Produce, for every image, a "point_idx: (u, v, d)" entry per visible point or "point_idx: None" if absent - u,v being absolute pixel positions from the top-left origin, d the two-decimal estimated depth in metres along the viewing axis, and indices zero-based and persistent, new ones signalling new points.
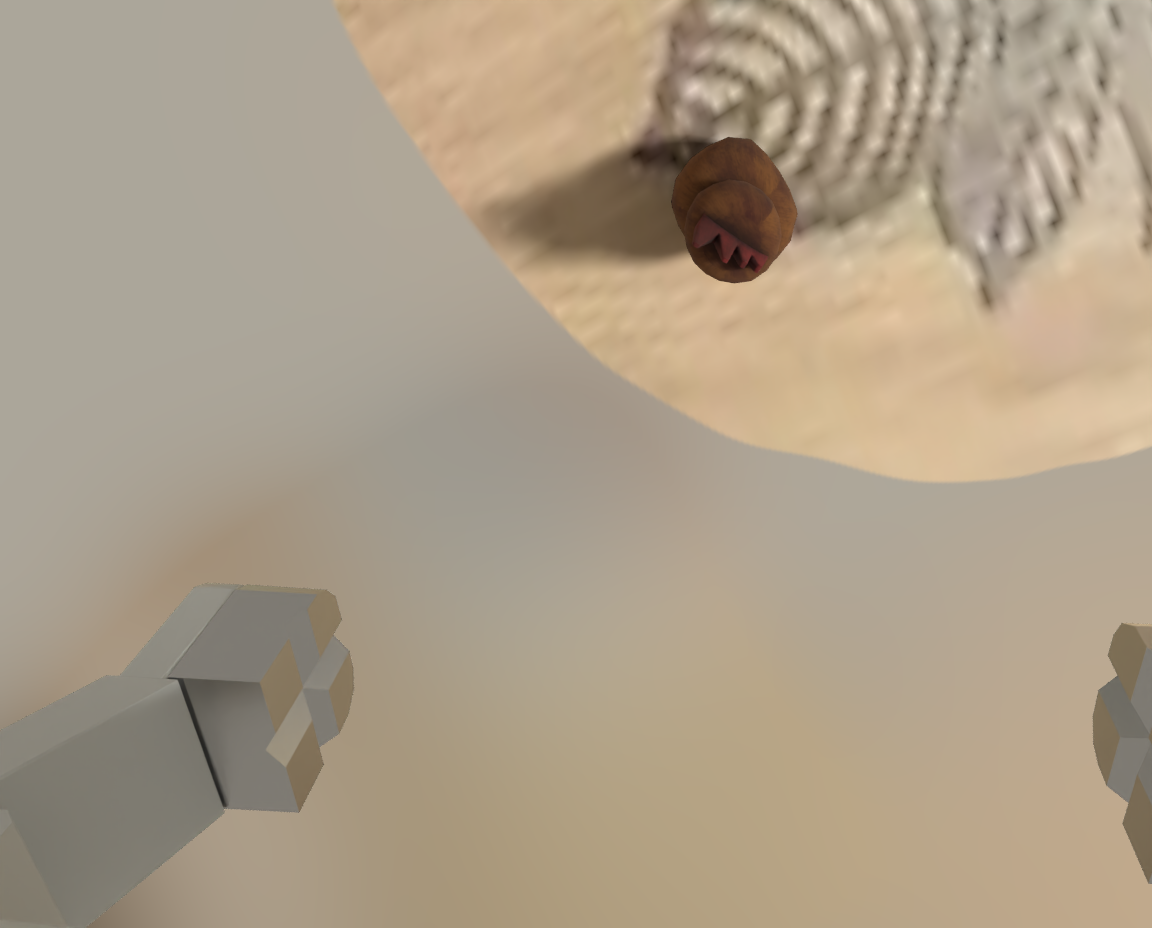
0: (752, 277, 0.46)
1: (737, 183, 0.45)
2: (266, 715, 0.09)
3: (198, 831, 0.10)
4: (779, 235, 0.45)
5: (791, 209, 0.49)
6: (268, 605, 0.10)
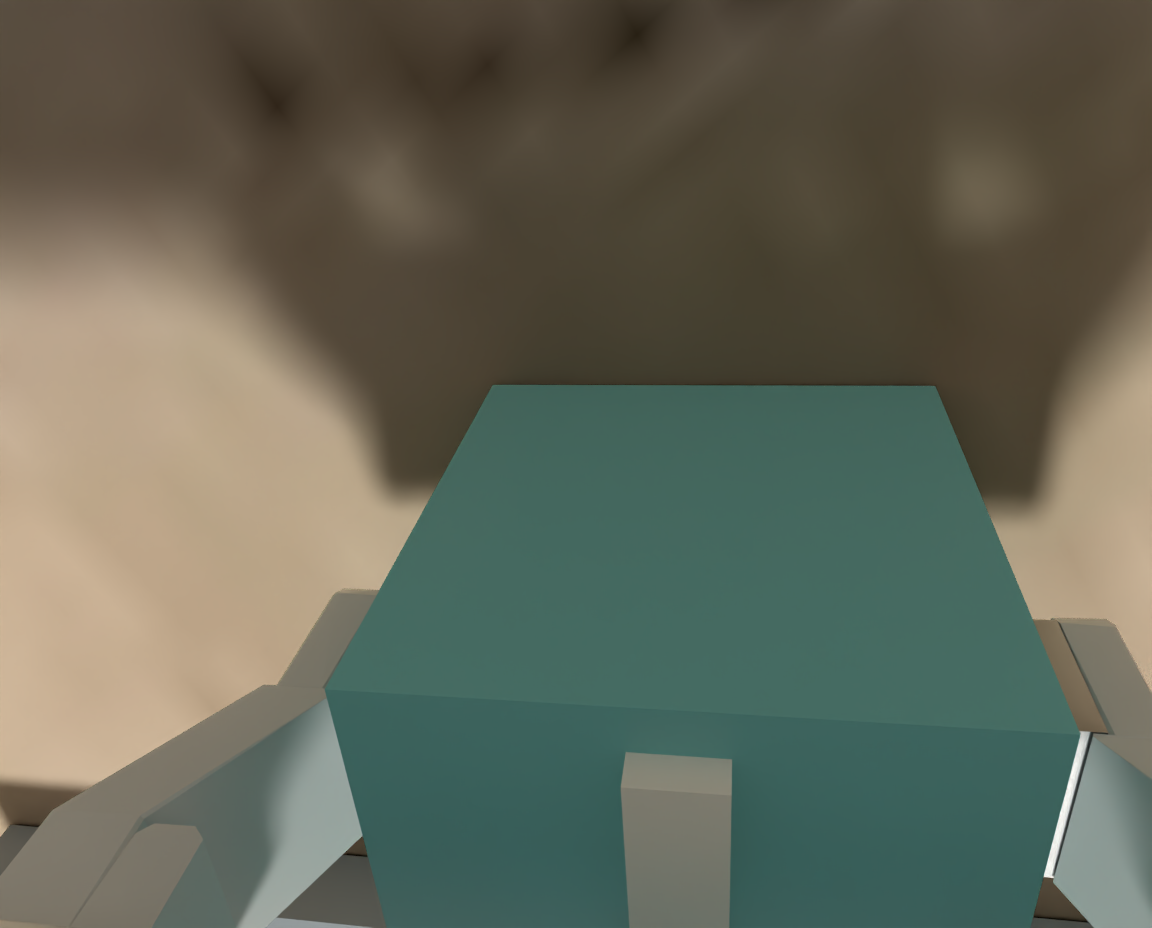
0: None
1: None
2: None
3: (349, 844, 0.09)
4: None
5: None
6: None
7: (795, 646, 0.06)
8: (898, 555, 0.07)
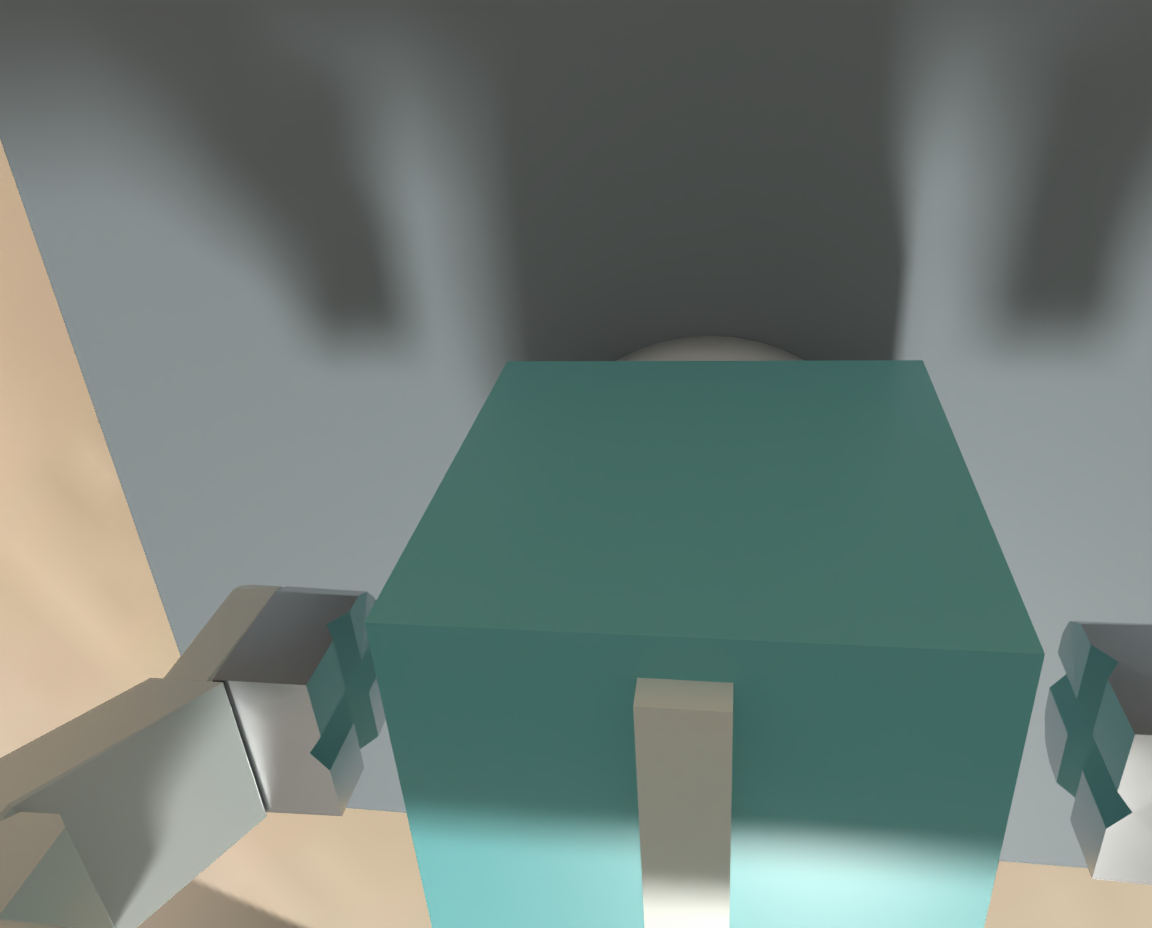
0: None
1: None
2: (311, 718, 0.09)
3: (240, 835, 0.10)
4: None
5: None
6: (309, 607, 0.10)
7: (790, 584, 0.07)
8: (885, 507, 0.08)
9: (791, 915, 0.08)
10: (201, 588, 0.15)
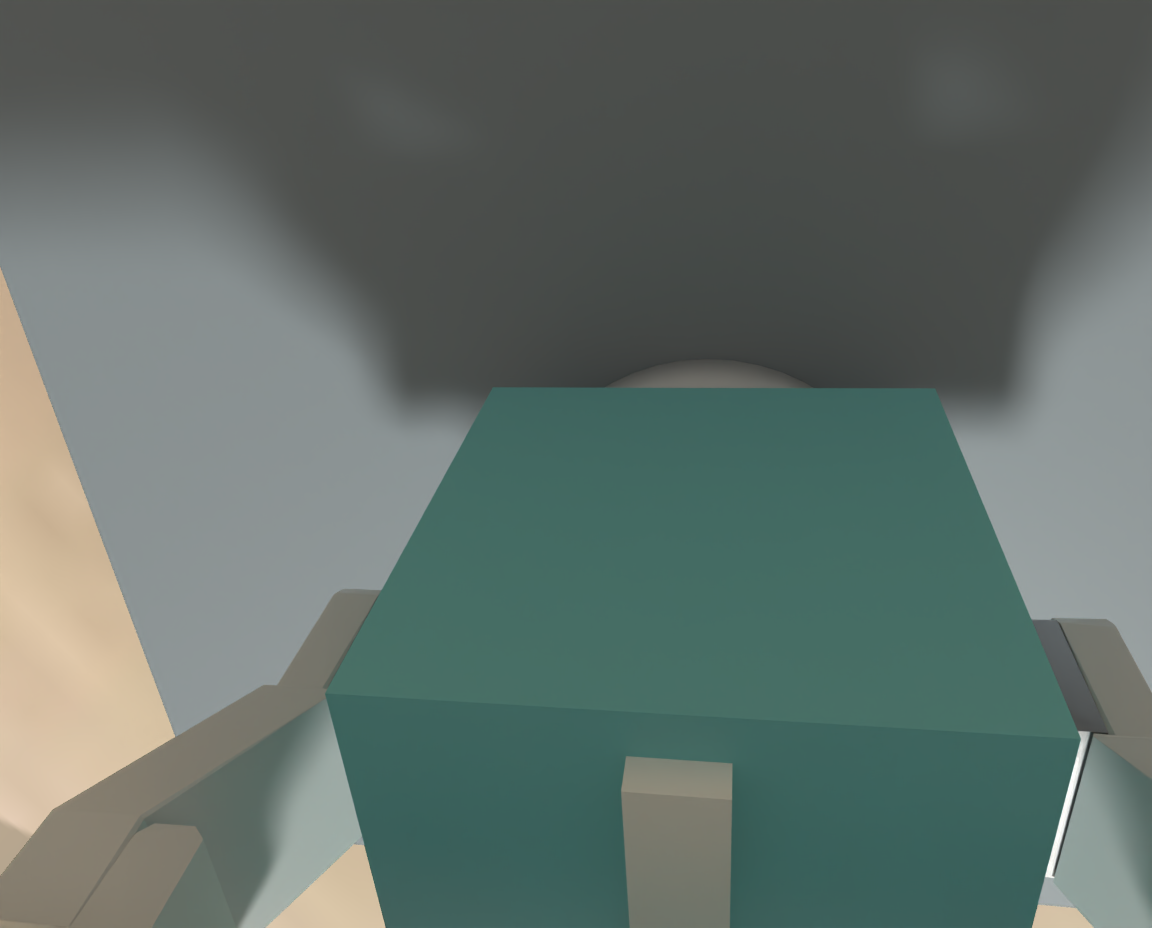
0: None
1: None
2: None
3: (349, 844, 0.09)
4: None
5: None
6: None
7: (795, 650, 0.06)
8: (898, 559, 0.07)
9: None
10: (176, 617, 0.15)
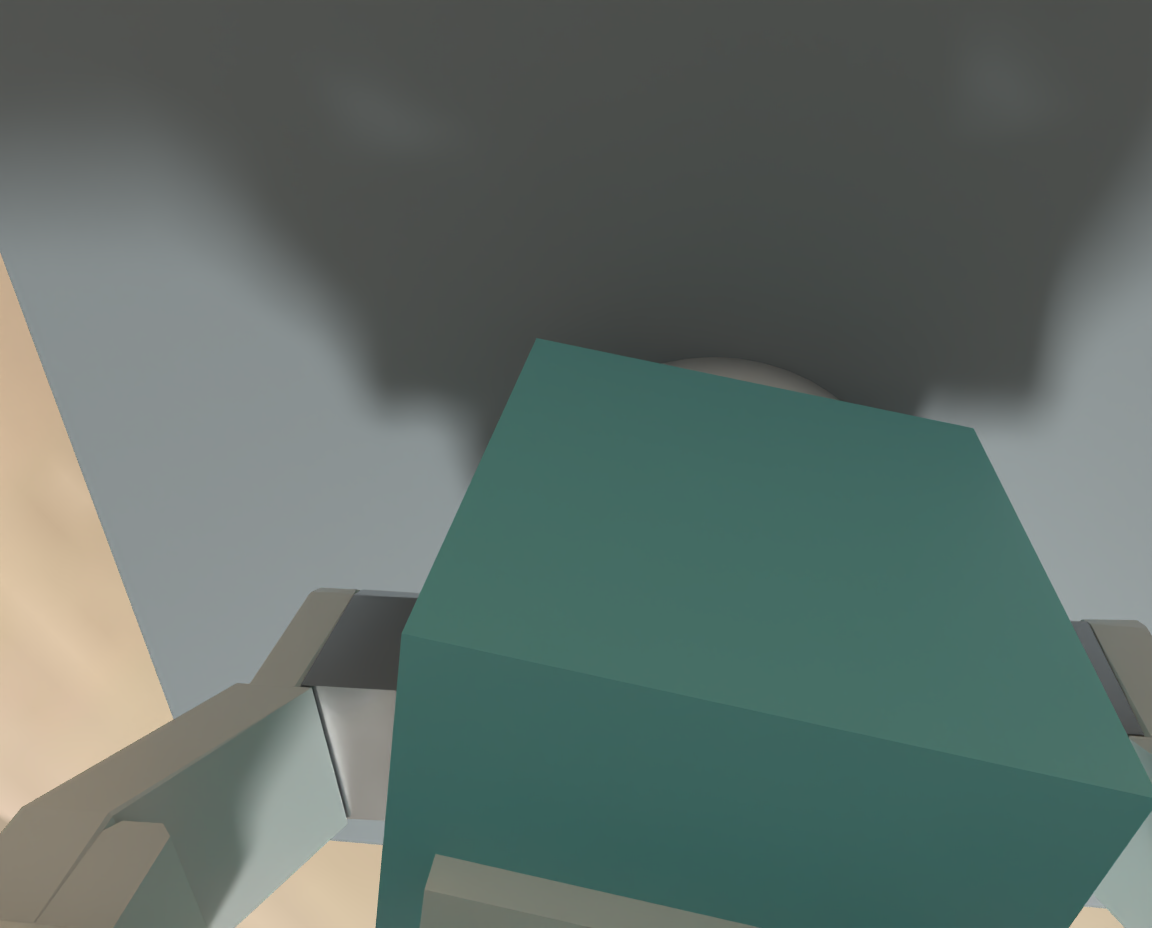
0: None
1: None
2: None
3: (322, 843, 0.09)
4: None
5: None
6: (391, 611, 0.10)
7: None
8: None
9: (792, 887, 0.07)
10: (181, 616, 0.15)
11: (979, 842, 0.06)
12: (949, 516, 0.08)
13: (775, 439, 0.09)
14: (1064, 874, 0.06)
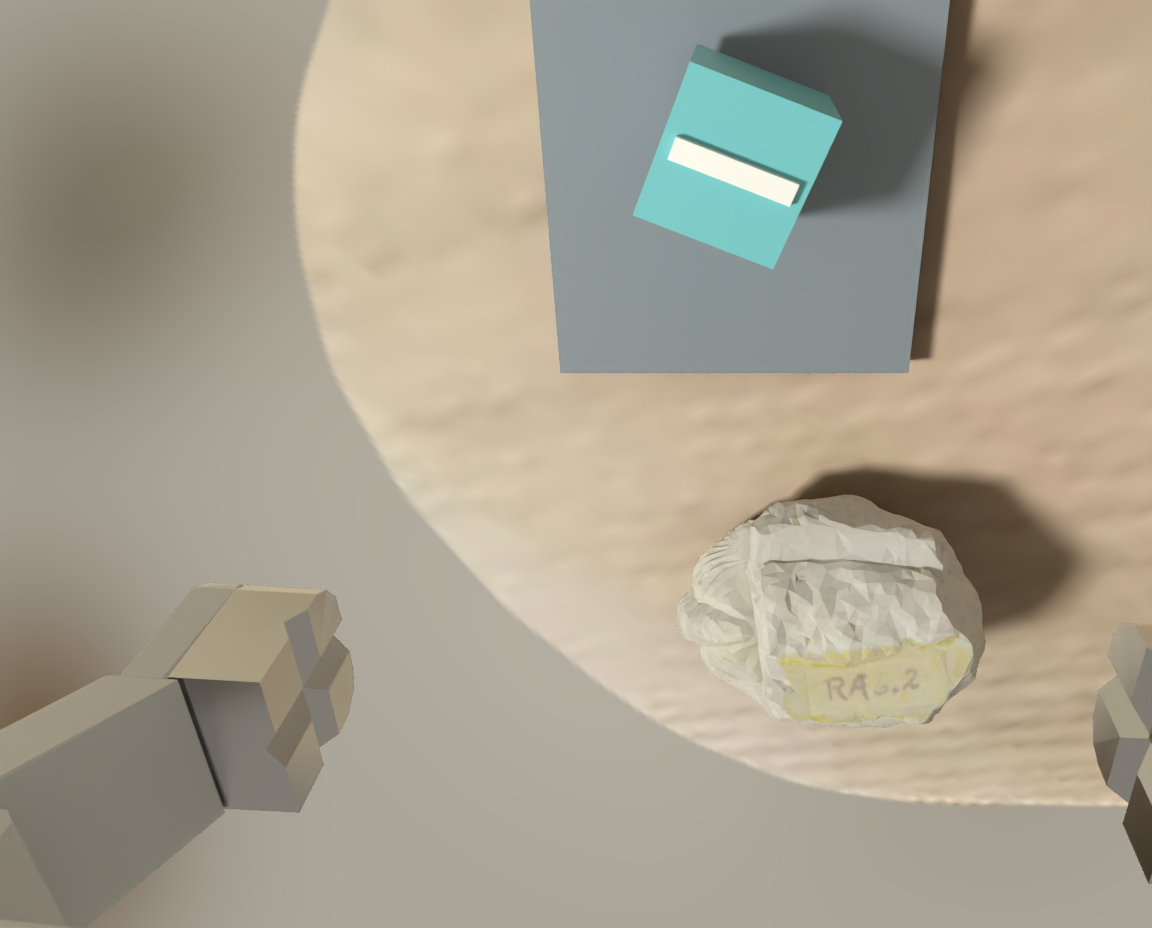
0: None
1: None
2: (266, 715, 0.09)
3: (199, 831, 0.10)
4: None
5: None
6: (268, 605, 0.10)
7: None
8: None
9: (761, 149, 0.28)
10: None
11: (805, 134, 0.28)
12: (814, 97, 0.30)
13: (769, 76, 0.31)
14: (822, 145, 0.28)
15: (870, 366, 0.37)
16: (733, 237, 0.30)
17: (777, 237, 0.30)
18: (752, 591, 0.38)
